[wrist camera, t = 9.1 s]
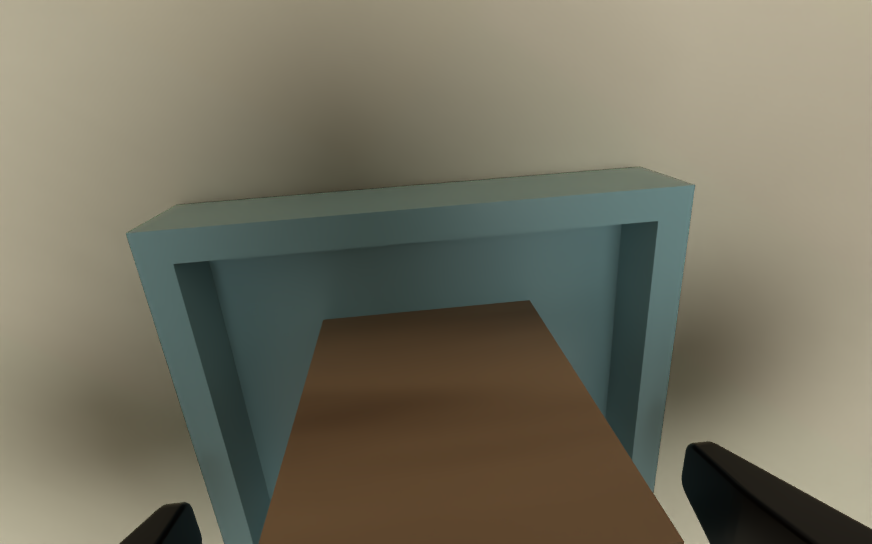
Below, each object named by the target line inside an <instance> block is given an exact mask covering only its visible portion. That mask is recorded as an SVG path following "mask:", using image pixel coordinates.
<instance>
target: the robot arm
mask: <svg viewBox="0 0 872 544" xmlns="http://www.w3.org/2000/svg"><path fill="white" fill-rule="evenodd" d="M682 485H683V488H684V491H685V493H686V495H687V497H688V499H689V501H690V504H691V506H692V508H693V510H694V512H695V514H696V516H697V518H698V520H699V522H700V524H701V526H702V528H703V530H704V532H705V534H706V536H707V538H708V540H709V542H710V544H872V529H870V528H869V527H867V526H865V525H863V524H861V523H860V522H858V521H856V520H854V519H852V518H850V517H849V516H847V515H845V514H843V513H841V512H839V511H838V510H836V509H834V508H832V507H830V506H829V505H827V504H825V503H823V502H821V501H819V500H818V499H816V498H814V497H812V496H810V495H808V494H807V493H805V492H803V491H801V490H799V489H798V488H796V487H794V486H792V485H790V484H788V483H787V482H785V481H783V480H781V479H779V478H778V477H776V476H774V475H772V474H770V473H768V472H767V471H765V470H763V469H761V468H759V467H757V466H756V465H754V464H752V463H750V462H748V461H747V460H745V459H743V458H741V457H739V456H737V455H736V454H734V453H732V452H730V451H728V450H726V449H725V448H723V447H721V446H719V445H717V444H715V443H713V442H708V441H707V442H698V443H691V444H689V445H688V446H687V448H686V452H685V459H684V465H683V471H682ZM120 544H202V537H201V533H200V530H199V527H198V524H197V521H196V518H195V515H194V512H193V509H192V507H191V505H190V504H189V503H186V502H181V503H173V504H166V505H163V506H162V507H160V508H159V509H158V510H157V511H155V512H154V513H153V514H152V515H151V516H150V517H149V518H148V519H146V520H145V521H144V522H143V523H142V524H141V525H140V526H139V527H137V528H136V529H135V530H134V531H133V532H132V533H131V534H130V535H128V536H127V537H126V538H125V539H124V540H123V541H122V542H121V543H120Z"/></svg>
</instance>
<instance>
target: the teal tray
mask: <svg viewBox="0 0 872 544" xmlns="http://www.w3.org/2000/svg"><path fill="white" fill-rule="evenodd" d="M694 189H695V185H694V184H691V183H688V182H685V181H682V180H679V179H676V178H673V177H670V176H667V175H664V174H661V173H658V172H655V171H652V170H649V169H646V168H643V167H631V168H619V169H607V170H595V171H582V172H570V173H558V174H546V175H534V176H522V177H509V178H497V179H485V180H473V181H461V182H448V183H436V184H424V185H412V186H400V187H388V188H375V189H363V190H351V191H339V192H327V193H314V194H302V195H290V196H278V197H266V198H254V199H241V200H229V201H217V202H205V203H193V204H180V205H175V206H173V207H172V208H170V209H168V210H166V211H165V212H163V213H161V214H159V215H157V216H156V217H154V218H152V219H150V220H149V221H147V222H145V223H143V224H141V225H140V226H138V227H136V228H134V229H133V230H131V231H129V232H127V233H126V236H127V239H128V242H129V245H130V248H131V251H132V254H133V258H134V261H135V264H136V267H137V270H138V273H139V276H140V280H141V283H142V286H143V289H144V292H145V295H146V299H147V302H148V305H149V308H150V311H151V314H152V317H153V321H154V324H155V327H156V330H157V333H158V336H159V339H160V343H161V346H162V349H163V352H164V355H165V358H166V362H167V365H168V368H169V371H170V374H171V377H172V380H173V384H174V387H175V390H176V393H177V396H178V399H179V402H180V406H181V409H182V412H183V415H184V418H185V421H186V425H187V428H188V431H189V434H190V437H191V440H192V443H193V447H194V450H195V453H196V456H197V459H198V462H199V465H200V469H201V472H202V475H203V478H204V481H205V484H206V487H207V491H208V494H209V497H210V500H211V503H212V506H213V510H214V513H215V516H216V519H217V522H218V525H219V528H220V532H221V535H222V538H223V541H224V544H259V540H260V537H261V533H262V530H263V526H264V523H265V520H266V516H267V513H268V509H269V506H270V502H271V499H272V495H273V492H274V488H275V485H276V481H277V478H278V475H279V471H280V468H281V464H282V461H283V457H284V454H285V450H286V447H287V443H288V440H289V437H290V433H291V430H292V426H293V423H294V419H295V416H296V412H297V409H298V405H299V402H300V398H301V395H302V392H303V388H304V385H305V381H306V378H307V374H308V371H309V367H310V364H311V360H312V357H313V354H314V350H315V347H316V343H317V340H318V336H319V333H320V329H321V326H322V322H323V320H325V319H336V318H346V317H357V316H367V315H378V314H389V313H399V312H410V311H420V310H431V309H441V308H452V307H462V306H473V305H483V304H494V303H505V302H515V301H526V300H530V301H531V303H532V305H533V306H534V308H535V309H536V311H537V312H538V314H539V316H540V317H541V319H542V320H543V322H544V323H545V325H546V327H547V328H548V330H549V331H550V333H551V334H552V336H553V337H554V339H555V341H556V342H557V344H558V345H559V347H560V348H561V350H562V352H563V353H564V355H565V356H566V358H567V359H568V361H569V363H570V364H571V366H572V367H573V369H574V370H575V372H576V373H577V375H578V377H579V378H580V380H581V381H582V383H583V384H584V386H585V388H586V389H587V391H588V392H589V394H590V395H591V397H592V399H593V400H594V402H595V403H596V405H597V406H598V408H599V409H600V411H601V413H602V414H603V416H604V417H605V419H606V420H607V422H608V424H609V425H610V427H611V428H612V430H613V431H614V433H615V435H616V436H617V438H618V439H619V441H620V442H621V444H622V445H623V447H624V449H625V450H626V452H627V453H628V455H629V456H630V458H631V460H632V461H633V463H634V464H635V466H636V467H637V469H638V471H639V472H640V474H641V475H642V477H643V478H644V480H645V481H646V483H647V485H648V486H649V488H650V489H651V491H652V492H654V485H655V477H656V470H657V463H658V455H659V448H660V440H661V433H662V426H663V418H664V411H665V403H666V396H667V389H668V381H669V374H670V367H671V359H672V352H673V344H674V337H675V330H676V322H677V315H678V308H679V300H680V293H681V285H682V278H683V271H684V263H685V256H686V248H687V241H688V234H689V226H690V219H691V212H692V204H693V197H694Z"/></svg>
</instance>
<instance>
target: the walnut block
mask: <svg viewBox="0 0 872 544" xmlns="http://www.w3.org/2000/svg"><path fill="white" fill-rule="evenodd" d="M259 544H684V541H683V539H682V538H681V536H680V535H679V533H678V532H677V530H676V528H675V527H674V525H673V524H672V522H671V521H670V519H669V518H668V516H667V514H666V513H665V511H664V510H663V508H662V507H661V505H660V503H659V502H658V500H657V499H656V497H655V496H654V494H653V492H652V491H651V489H650V488H649V486H648V485H647V483H646V481H645V480H644V478H643V477H642V475H641V474H640V472H639V471H638V469H637V467H636V466H635V464H634V463H633V461H632V460H631V458H630V456H629V455H628V453H627V452H626V450H625V449H624V447H623V445H622V444H621V442H620V441H619V439H618V438H617V436H616V435H615V433H614V431H613V430H612V428H611V427H610V425H609V424H608V422H607V420H606V419H605V417H604V416H603V414H602V413H601V411H600V409H599V408H598V406H597V405H596V403H595V402H594V400H593V399H592V397H591V395H590V394H589V392H588V391H587V389H586V388H585V386H584V384H583V383H582V381H581V380H580V378H579V377H578V375H577V373H576V372H575V370H574V369H573V367H572V366H571V364H570V363H569V361H568V359H567V358H566V356H565V355H564V353H563V352H562V350H561V348H560V347H559V345H558V344H557V342H556V341H555V339H554V337H553V336H552V334H551V333H550V331H549V330H548V328H547V327H546V325H545V323H544V322H543V320H542V319H541V317H540V316H539V314H538V312H537V311H536V309H535V308H534V306H533V305H532V303H531V301H530V300H526V301H515V302H505V303H494V304H483V305H473V306H462V307H452V308H441V309H431V310H420V311H410V312H399V313H389V314H378V315H367V316H357V317H346V318H336V319H325V320H323V322H322V326H321V329H320V333H319V336H318V340H317V343H316V347H315V350H314V354H313V357H312V360H311V364H310V367H309V371H308V374H307V378H306V381H305V385H304V388H303V392H302V395H301V398H300V402H299V405H298V409H297V412H296V416H295V419H294V423H293V426H292V430H291V433H290V437H289V440H288V443H287V447H286V450H285V454H284V457H283V461H282V464H281V468H280V471H279V475H278V478H277V481H276V485H275V488H274V492H273V495H272V499H271V502H270V506H269V509H268V513H267V516H266V520H265V523H264V526H263V530H262V533H261V537H260V540H259Z"/></svg>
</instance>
